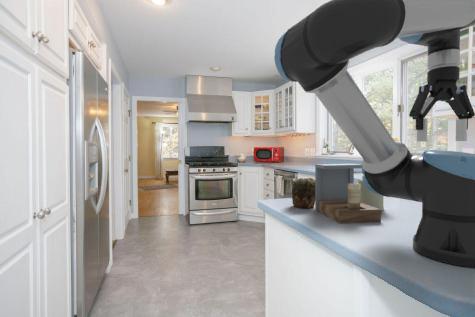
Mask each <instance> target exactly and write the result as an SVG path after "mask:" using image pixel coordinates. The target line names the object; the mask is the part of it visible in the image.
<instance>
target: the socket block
mask: <svg viewBox="0 0 475 317" xmlns="http://www.w3.org/2000/svg"><path fill="white" fill-rule="evenodd" d="M318 212H319V213H321V214H323V215H325V216H327V218H330V219H331V220H334V221H335V222H337V223H339V224H356V223H360V224H361V223H378V222H381V221H382V211H381V209H378V208H375V207H373V206H370V205H367V204H364V203H361V202H360V209H357V210H350V209H348V200H329V201H319V211H318Z"/></svg>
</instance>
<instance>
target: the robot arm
mask: <svg viewBox="0 0 475 317" xmlns="http://www.w3.org/2000/svg"><path fill="white" fill-rule="evenodd" d="M473 26H475V0H329V1H328V2H325V3H323V4H321V5H320V6H318V7H317V8H316V9H315V10H314V11H312V12H311V13H309V14H307V16H305V17H304V18H302V19H300V21H298V22H297V23H295V24H294V25H292V26H291V27H290V28H288V29H287V30H286V31H285V32H284V33H283V34H282V35H281V36H280V37H279V39H278V40H277V42H276V45H275V48H274V63H275V68H276V70H277V71H278V73H279V75H280V76H281V77H282V78H283V79H285V80H286V81H289V82H292V83H293V82H295V83H298V84H299V85H300V87H301V88H302V90H304V92H305V93H309V94H315V95H316V97H317V98H318V100H319V101H320V103H321V104H322V106H324V108H325V109H326V111H327V112H328V113H329V115H330V116H331V117H332V119H333V120H334V121H335V122H336V124H337V126H338V127H339V128H340V129H341V131H342V132H343V133H344V135H345V136H346V137H347V139H348V140H349V141H350V143H351V145H352V146H353V147H354V148H355V150H356V151H357V152H358V154H359V155H360V156H361V158H362V163H361V165H362V168H361V174H363V175H362V176H361V177H362V178H361V179H363V181H364V183H365V185H366V186H367V188H368V189H369V190H370V191H372V192H374V193H376V194H379V195H382V196H383V197H387V198H394V199H400V200H406V201H413V202H417V203H421V204H422V205H421V219H420V221H419V224H418V226H417V229H416V232H415V234H414V235H413V238H412V249H413V250H414V251H416V253H418V254H420V255H422V256H424V257H425V258H429V259H431V260H435V261H438V262H441V263H446V264H450V265H454V266H458V267H459V266H460V267H461V266H462V267H469V268H475V153H471V152H463V151H453V150H443V149H442V150H440V149H439V150H438V149H428V150H427V149H426V150H424V151H423V152H422V155H414V154H412V153H411V151H410V150H409V148H408V147H407V146H406V144H405V143H404V142H402V141H395V140H394V138H393V137H392V135H391V134H390V132H389V131H388V129H387V127H386V126H385V125H384V123H383V122H382V120H381V119H380V118H379V116H378V114H377V113H376V111H375V110H374V108H373V107H372V105H371V104H370V102H369V100H367V98H366V96H365V95H364V93H363V92H362V90H361V89H360V88H359V86H358V84H357V83H356V82H355V80H354V79H353V77H352V76H351V74H350V73H349V71H348V67H349V64H350V60H351V59H353V58H355V57H357V56H359V55H362V54H364V53H366V52H369V51H371V50H374V49H376V48H382V47H385V46H388V45H390V44H391V43H393V42H394V41H395V40H396V39H399V40H400V41H402V42H404V43H407V44H410V45H418V46H422V47H427V70H428V71H427V75H426V84H422V85H419V86H418V94H417V95H416V98H415V100H414V103H413V104H412V107H411V109H410V112H409V116H408V117H409V118H412V120H415V130H416V131H417V132H416V142H420V143H421V142H422V143H423V142H428V118H426V116H427V115H428V113H429V112H431V109H433V107H434V105H435V104H436V103H437V102H445V103H447V104H448V105H449V107H450V108H451V110H452V112H453V113H454V114H455V116H456V117H457V118H458V119H455V142H467V141H468V131H467V130H469V119H472V118H474V117H475V110H474V108H473V106H472V104H471V103H472V102H471V100H470V98H469V95H468V93H467V85H465V84H462V85H457V82H458V81H459V80H460V70H461V69H460V67H459V66H460V64H461V49H460V48H461V47H460V45H461V31H462V30H464V29H466V28H467V29H468V28H470V27H473Z"/></svg>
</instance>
